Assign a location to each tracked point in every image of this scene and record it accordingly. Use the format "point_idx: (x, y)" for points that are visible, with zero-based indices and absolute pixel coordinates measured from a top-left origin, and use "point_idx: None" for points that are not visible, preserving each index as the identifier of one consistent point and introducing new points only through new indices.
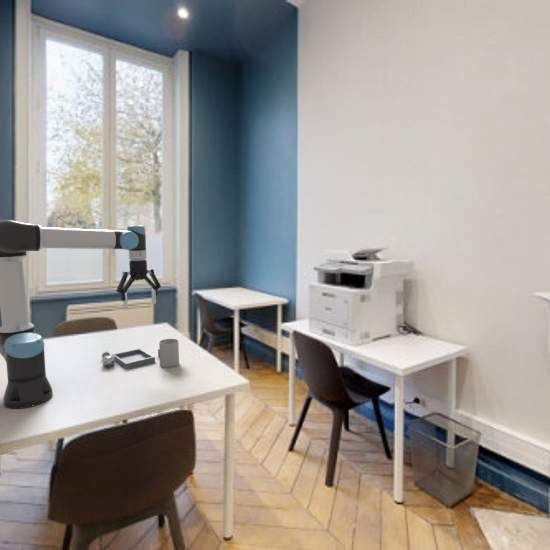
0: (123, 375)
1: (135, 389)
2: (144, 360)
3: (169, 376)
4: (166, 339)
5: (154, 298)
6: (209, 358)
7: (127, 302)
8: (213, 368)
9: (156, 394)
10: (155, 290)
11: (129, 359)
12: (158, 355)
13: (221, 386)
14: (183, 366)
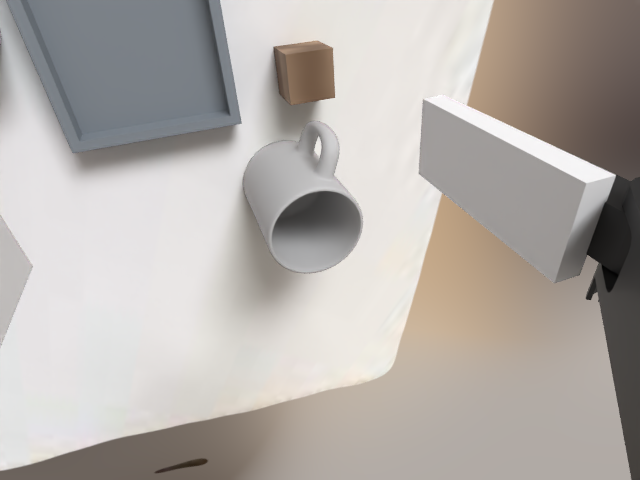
0: (62, 218)
1: (107, 349)
2: (182, 132)
3: (241, 289)
4: (322, 190)
5: (460, 203)
6: None
7: (9, 322)
8: (387, 275)
9: (167, 389)
10: (570, 269)
11: (103, 10)
12: (276, 51)
13: (334, 381)
14: None
